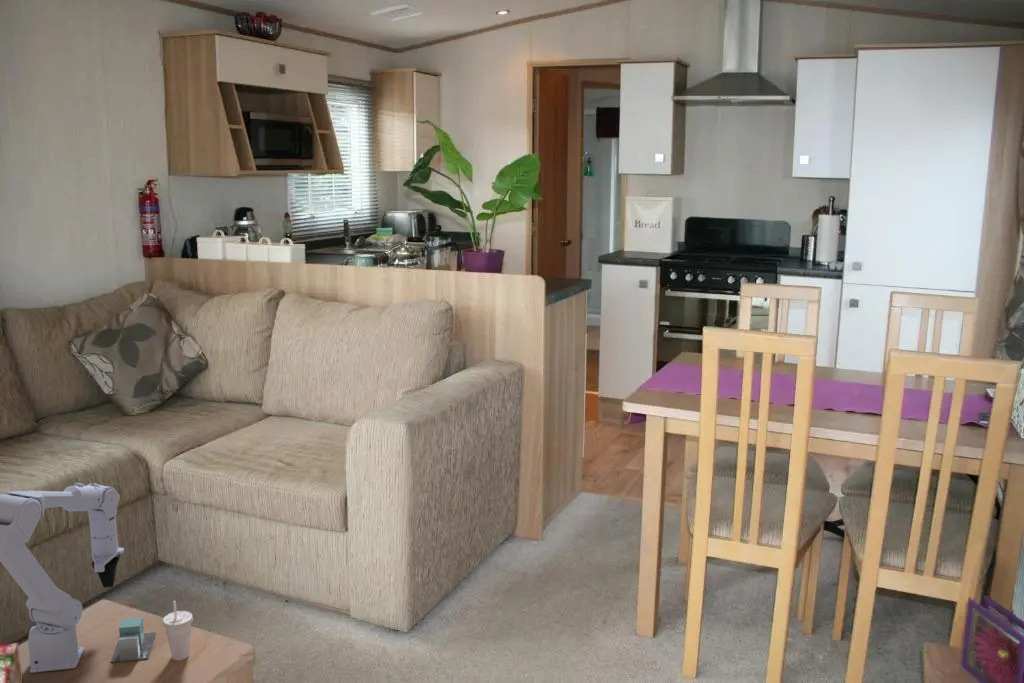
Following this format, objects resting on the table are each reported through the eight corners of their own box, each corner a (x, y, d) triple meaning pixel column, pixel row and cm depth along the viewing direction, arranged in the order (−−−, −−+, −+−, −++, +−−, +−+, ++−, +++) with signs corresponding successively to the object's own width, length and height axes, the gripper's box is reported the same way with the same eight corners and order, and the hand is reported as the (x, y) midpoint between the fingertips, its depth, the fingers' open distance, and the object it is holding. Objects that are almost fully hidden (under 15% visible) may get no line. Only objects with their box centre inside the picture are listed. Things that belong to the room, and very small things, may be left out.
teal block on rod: (120, 647, 204) (118, 628, 202) (124, 638, 207) (122, 618, 206) (141, 645, 204) (139, 626, 203) (144, 636, 208) (142, 617, 207)
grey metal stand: (110, 663, 201) (108, 641, 200) (120, 636, 212) (118, 615, 210) (148, 659, 203) (146, 637, 202) (156, 633, 213) (154, 612, 212)
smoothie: (159, 658, 203) (155, 603, 200) (181, 645, 208) (177, 590, 205) (179, 666, 200) (175, 610, 197) (201, 652, 206) (197, 597, 202)
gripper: (115, 545, 205) (120, 599, 208) (127, 519, 219) (132, 570, 222) (82, 548, 204) (87, 602, 207) (96, 522, 217) (101, 573, 221)
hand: (108, 586), depth 214 cm, fingers closed
